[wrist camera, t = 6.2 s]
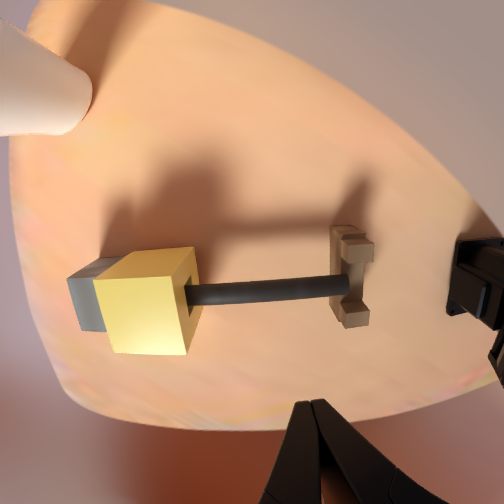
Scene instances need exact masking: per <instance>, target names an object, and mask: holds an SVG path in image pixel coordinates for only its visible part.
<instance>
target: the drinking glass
mask: <svg viewBox="0 0 504 504" xmlns="http://www.w3.org/2000/svg"><path fill="white" fill-rule="evenodd" d="M91 99H92V83H91V80H90V78H89V76H88V75H87V74H86V73H85V72H84V71H83V70H81V69H80V68H78V67H76V66H74V65H72V64H70V63H69V62H67V61H66V60H64V59H63V58H61V57H60V56H58V55H57V54H55V53H54V52H52V51H51V50H49V49H48V48H46V47H45V46H43V45H42V44H40V43H39V42H37V41H36V40H34V39H33V38H31V37H30V36H28V35H27V34H25V33H24V32H22V31H21V30H19V29H17V28H16V27H14V26H13V25H11V24H10V23H8V22H6V21H5V20H3V19H1V18H0V136H13V135H32V134H44V135H62V134H65V133H67V132H69V131H71V130H72V129H74V128H75V127H76V126H77V125H78V124H79V123H80V122H81V121H82V119H83V118H84V116H85V115H86V113H87V111H88V109H89V106H90V103H91Z"/></svg>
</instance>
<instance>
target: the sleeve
mask: <svg viewBox="0 0 504 504" xmlns="http://www.w3.org/2000/svg"><path fill="white" fill-rule="evenodd" d="M93 283H94V287H95V291H96V295H97V299H98V302H99V306H100V310H101V313H102V317H103V320H104V323H105V327H106V330H107V333H108V336H109V339H110V342H111V345H112V348H113V351H114V352H115V353H132V354H157V355H187V353H188V350H189V347H190V344H191V341H192V338H193V335H194V333H195V330H196V327H197V324H198V321H199V319H200V316H201V313H202V310H203V305H202V306H187V302H186V296H185V290H184V285H200V284H199V277H198V270H197V263H196V255H195V248H194V246H193V247H180V248H167V249H155V250H143V251H133V252H131V253H130V254H128V255H127V256H125V257H124V258H123V259H121V260H120V261H118V262H117V263H115V264H114V265H113V266H111V267H110V268H108V269H107V270H106V271H104V272H103V273H102V274H100V275H99V276H97V277H96V278H95V279H93Z"/></svg>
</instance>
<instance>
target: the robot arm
mask: <svg viewBox="0 0 504 504" xmlns="http://www.w3.org/2000/svg"><path fill="white" fill-rule="evenodd" d="M461 245H462V247H461ZM460 247H461V249H460ZM466 312H469V313H470V314H471V315H472V316H474V317H475V318H476V319H479V320H481V321H482V322H483V323H484V324H486V325H487V326H488V327H489V328H490V329H492V330H493V331H495V330H496V331H497V332H498V334H497V337H496V339H495V342H494V344H493V347H492V349H491V350H490V352H489V354H488V359H489V361H490V362H491V364H492V366H493V368H494V370H495V372H496V374H497V376H498V378H499V380H500V383H501V385H502V386H503V388H504V238H502V237H492V238H480V239H467V240H459V241H458V242H457V243H456V246H455V256H454V264H453V272H452V279H451V286H450V292H449V297H448V303H447V308H446V313H447V314H448V315H449V316H454V315H458V314H462V313H466ZM321 493H322V497H323V500H324V504H449V503H447V502H446V501H444V500H442V499H441V498H439V497H437V496H435V495H434V494H432V493H430V492H429V491H427V490H426V489H424V488H423V487H421V486H420V485H418V484H417V483H416V482H415V481H413V480H412V479H411V478H409V477H408V476H407V475H406V474H405V473H404V472H402V471H401V470H400V469H399V468H396V466H395V465H394V464H393V463H392V462H391V461H390V460H389V459H388V458H386V457H385V456H384V455H383V454H382V453H381V452H380V451H379V450H378V449H376V448H375V447H374V446H373V445H372V444H371V443H370V442H369V441H368V440H367V439H366V438H365V437H363V436H362V435H361V434H360V433H359V432H358V431H357V430H356V429H355V428H354V427H353V426H352V425H351V424H350V423H349V422H348V421H347V420H346V419H345V418H343V417H342V416H341V415H340V414H339V413H338V412H337V411H336V410H335V409H334V408H333V407H332V406H331V405H330V404H329V403H328V402H327V401H326V400H325V399H315V400H311V401H310V402H309V401H308V400H307V401H298V402H296V403H295V405H294V408H293V411H292V414H291V417H290V420H289V423H288V426H287V429H286V432H285V435H284V438H283V441H282V444H281V446H280V449H279V452H278V455H277V457H276V460H275V463H274V465H273V468H272V471H271V473H270V476H269V478H268V481H267V483H266V486H265V488H264V491H263V493H262V495H261V497H260V500H259V502H258V504H322V503H321Z"/></svg>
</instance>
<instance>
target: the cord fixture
mask: <svg viewBox="0 0 504 504" xmlns="http://www.w3.org/2000/svg"><path fill="white" fill-rule="evenodd" d="M124 257H125V256H122V257H109V258H98V259H97V260H95V261H94V262H92V263H90V264H89V265H87V266H86V267H84V268H82V269H81V270H79V271H78V272H76V273H74V274H73V275H71V276H70V277H68V278H67V283H68V287H69V290H70V294H71V298H72V301H73V305H74V308H75V311H76V314H77V318H78V321H79V324H80V327H81V330H82V331H94V332H107V330H106V327H105V323H104V320H103V317H102V313H101V310H100V306H99V302H98V299H97V295H96V291H95V287H94V283H93V279H95V278H96V277H97V276H99V275H100V274H102V273H103V272H104V271H106V270H107V269H108V268H110V267H111V266H113V265H114V264H115V263H117V262H118V261H120V260H121V259H123V258H124ZM364 262H374V243H372V242H371V241H369V240H368V239H366V238H365V233H364V232H363V231H361V230H359V229H357V228H356V227H354V226H352V225H342V226H330V275H327V276H315V277H303V278H291V279H278V280H264V281H250V282H235V283H219V284H201V285H184V290H185V296H186V302H187V306H202V305H223V304H241V303H256V302H270V301H283V300H296V299H307V298H318V297H328V296H330V300H329V305H330V307H331V308H332V310H333V312H334V314H335V316H336V318H337V320H338V321H339V322H342V324H343V326H344V328H345V329H347V328H354V327H361V326H368V324H369V315H370V310H369V309H368V308H367V306H366V305H365V304H364V302H363V301H362V297H363V282H364Z"/></svg>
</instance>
